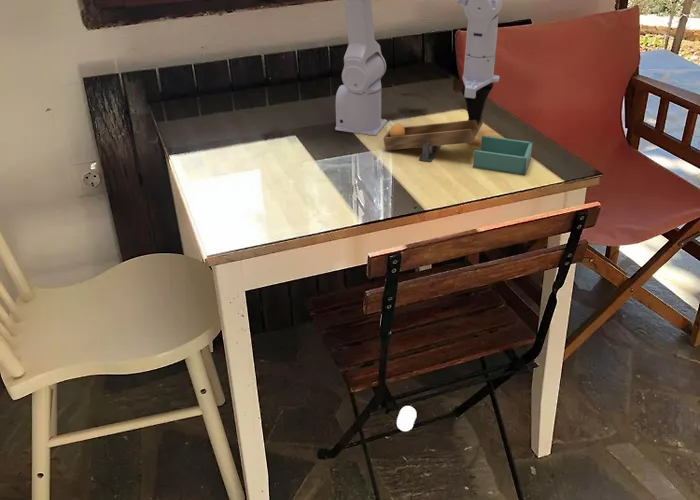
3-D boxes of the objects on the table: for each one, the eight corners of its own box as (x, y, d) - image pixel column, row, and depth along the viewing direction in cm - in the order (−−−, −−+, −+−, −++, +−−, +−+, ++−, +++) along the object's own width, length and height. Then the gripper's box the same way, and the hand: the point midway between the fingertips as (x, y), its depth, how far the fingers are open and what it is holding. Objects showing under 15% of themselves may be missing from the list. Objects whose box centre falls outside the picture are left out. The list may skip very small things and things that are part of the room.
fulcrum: (418, 160, 143) (419, 143, 141) (430, 143, 150) (430, 127, 148) (430, 162, 142) (431, 145, 140) (441, 144, 149) (442, 128, 147)
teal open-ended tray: (472, 167, 140) (474, 151, 138) (480, 151, 146) (482, 135, 144) (524, 175, 137) (526, 158, 135) (530, 158, 143) (532, 142, 141)
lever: (385, 151, 146) (382, 139, 145) (402, 128, 155) (399, 117, 154) (471, 143, 138) (469, 131, 137) (484, 120, 147) (482, 108, 146)
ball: (390, 144, 146) (385, 129, 145) (394, 137, 149) (390, 123, 148) (404, 141, 145) (399, 126, 144) (409, 134, 147) (404, 120, 146)
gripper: (493, 67, 131) (487, 136, 138) (508, 43, 142) (501, 108, 150) (455, 63, 133) (451, 131, 141) (472, 40, 144) (467, 104, 152)
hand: (474, 119), depth 145 cm, fingers closed, pressing on lever
